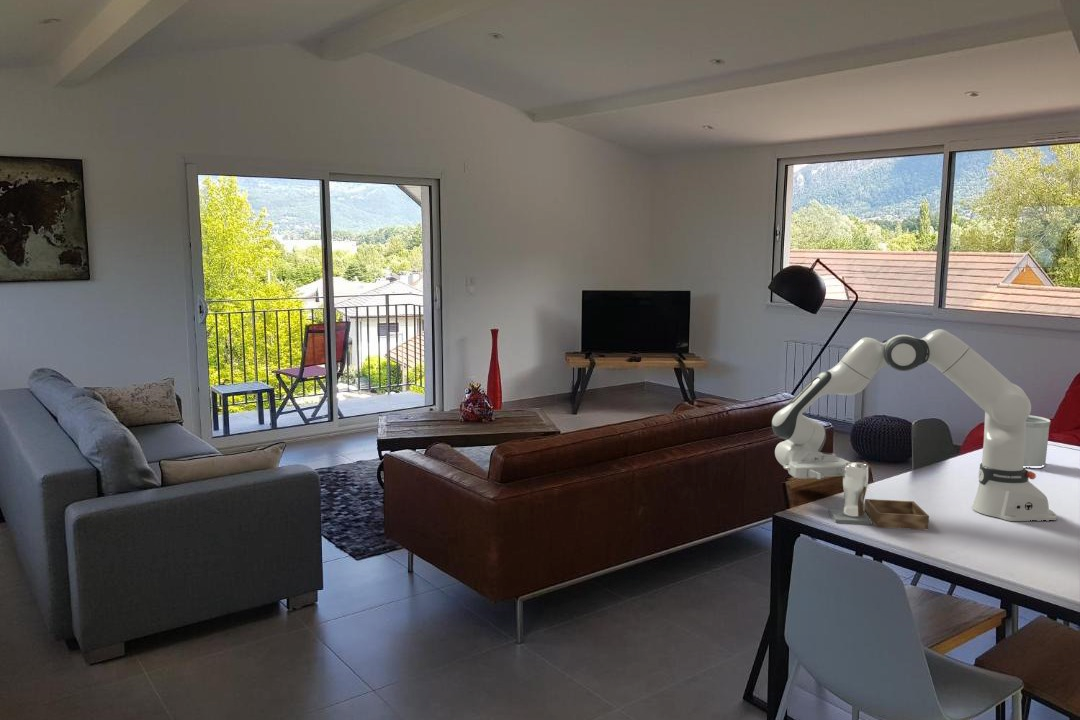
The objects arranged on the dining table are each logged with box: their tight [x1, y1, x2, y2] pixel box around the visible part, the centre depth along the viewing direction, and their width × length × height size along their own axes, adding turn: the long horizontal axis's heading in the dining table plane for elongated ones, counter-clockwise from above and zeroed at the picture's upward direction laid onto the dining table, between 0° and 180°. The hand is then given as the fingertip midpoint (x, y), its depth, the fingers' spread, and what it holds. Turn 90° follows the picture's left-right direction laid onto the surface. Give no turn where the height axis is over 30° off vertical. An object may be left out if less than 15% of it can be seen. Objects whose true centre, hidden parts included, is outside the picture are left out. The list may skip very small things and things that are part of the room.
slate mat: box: [827, 508, 873, 525], centre depth 247 cm, size 10×10×1 cm
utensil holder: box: [1023, 415, 1052, 466], centre depth 311 cm, size 15×15×18 cm
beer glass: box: [842, 461, 869, 517], centre depth 247 cm, size 7×7×15 cm
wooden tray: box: [863, 498, 930, 530], centre depth 246 cm, size 14×14×4 cm
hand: (835, 475), depth 253 cm, fingers open, 8 cm apart
